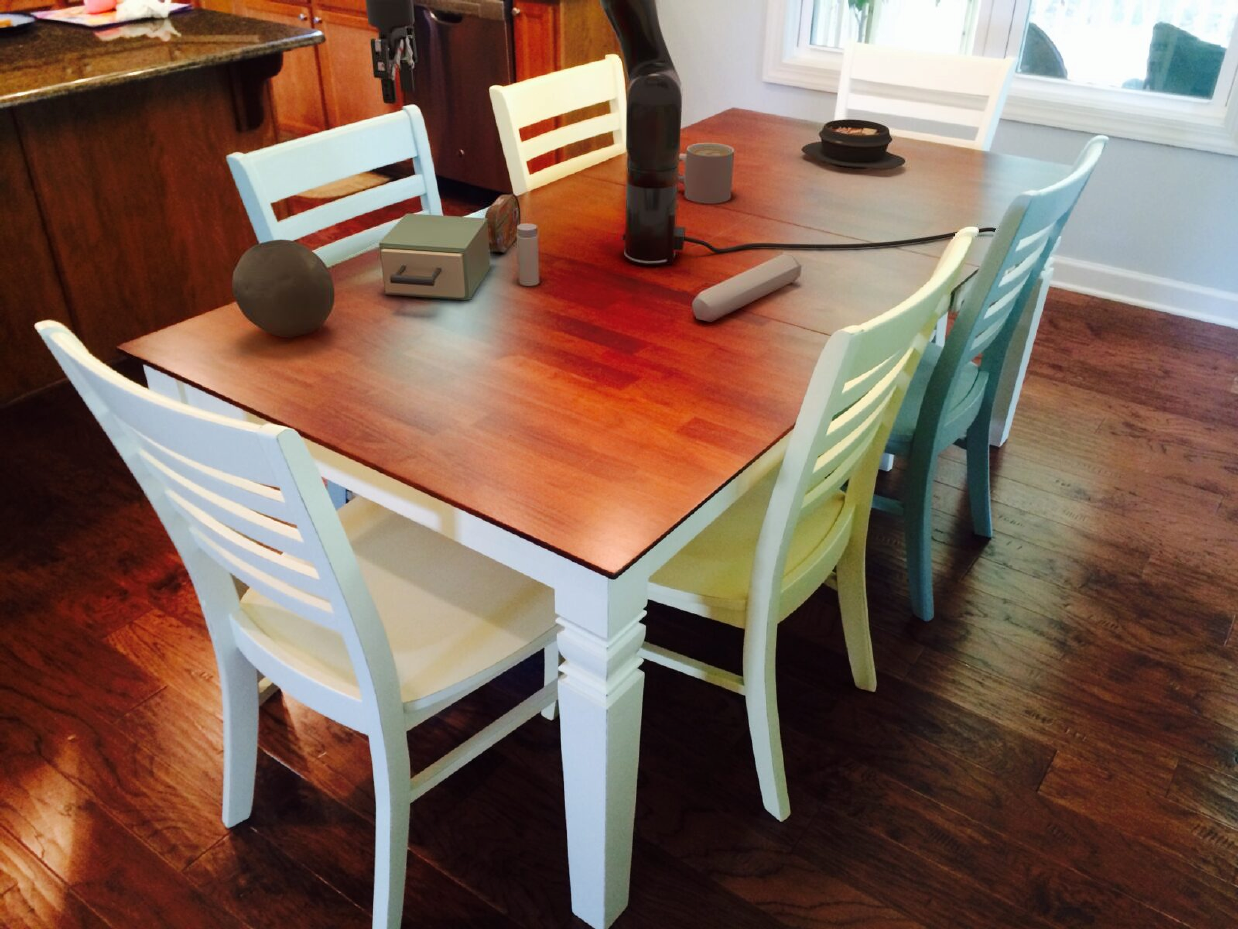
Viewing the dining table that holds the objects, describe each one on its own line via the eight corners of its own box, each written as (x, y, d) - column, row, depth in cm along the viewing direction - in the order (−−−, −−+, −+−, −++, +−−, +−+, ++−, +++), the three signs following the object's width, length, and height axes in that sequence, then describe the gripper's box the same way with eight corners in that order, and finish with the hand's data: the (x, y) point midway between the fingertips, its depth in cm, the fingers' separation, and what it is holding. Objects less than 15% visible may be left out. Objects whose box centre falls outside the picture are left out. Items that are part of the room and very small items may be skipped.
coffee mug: (738, 194, 214) (742, 147, 208) (716, 206, 207) (720, 158, 201) (684, 183, 220) (687, 137, 214) (662, 194, 213) (663, 147, 207)
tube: (715, 307, 155) (806, 263, 170) (691, 287, 157) (783, 246, 172) (705, 333, 159) (794, 287, 174) (681, 313, 161) (772, 270, 176)
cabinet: (469, 300, 165) (465, 248, 160) (385, 294, 167) (378, 242, 162) (490, 267, 177) (487, 218, 172) (411, 262, 179) (406, 213, 174)
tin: (499, 259, 181) (497, 214, 176) (483, 257, 181) (480, 212, 177) (522, 231, 193) (521, 188, 188) (507, 229, 194) (505, 187, 189)
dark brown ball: (263, 315, 159) (245, 225, 151) (350, 318, 159) (337, 227, 151) (231, 355, 147) (210, 260, 139) (325, 358, 147) (310, 263, 139)
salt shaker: (541, 278, 173) (539, 223, 168) (537, 286, 171) (535, 230, 165) (521, 277, 174) (518, 222, 168) (516, 285, 171) (514, 229, 165)
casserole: (785, 161, 235) (789, 125, 231) (824, 145, 247) (828, 110, 243) (881, 183, 222) (887, 145, 218) (917, 164, 234) (924, 128, 230)
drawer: (454, 312, 159) (450, 269, 155) (374, 306, 161) (368, 263, 157) (483, 267, 175) (481, 227, 171) (410, 262, 176) (406, 222, 172)
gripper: (394, 0, 154) (406, 108, 163) (425, -12, 166) (433, 89, 175) (349, -1, 155) (362, 106, 164) (382, -14, 167) (393, 86, 176)
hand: (399, 97), depth 169 cm, fingers open, 8 cm apart
